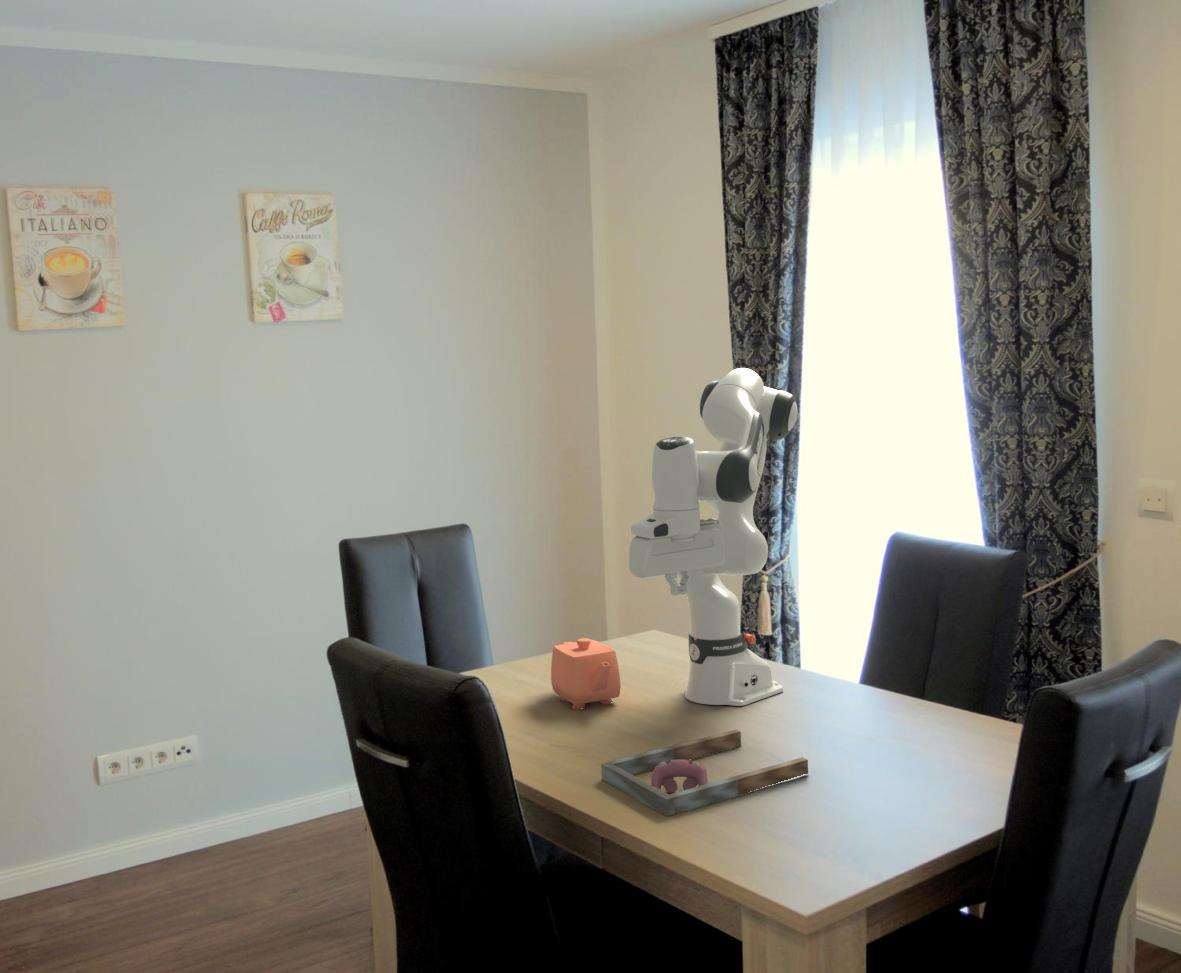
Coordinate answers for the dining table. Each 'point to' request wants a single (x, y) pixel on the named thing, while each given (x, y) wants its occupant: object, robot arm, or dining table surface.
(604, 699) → the teapot
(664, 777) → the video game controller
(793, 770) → the u-shaped rail frame
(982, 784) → the dining table surface
